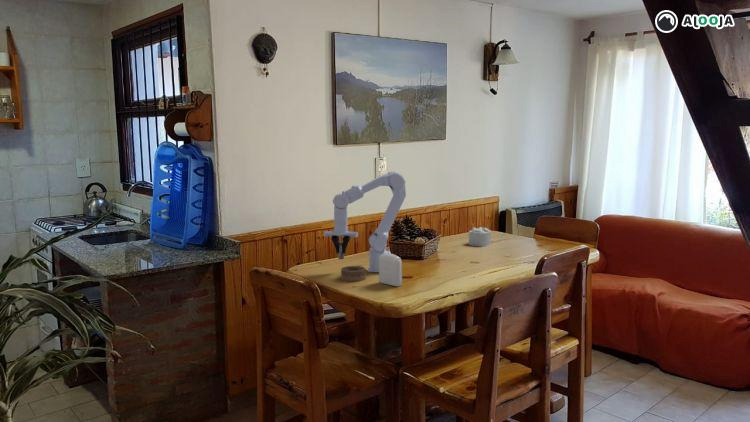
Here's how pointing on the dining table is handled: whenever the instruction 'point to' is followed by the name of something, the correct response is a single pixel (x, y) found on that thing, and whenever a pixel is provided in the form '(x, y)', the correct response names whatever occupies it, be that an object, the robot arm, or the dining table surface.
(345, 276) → the bead
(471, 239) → the lumpy-topped squat cylinder
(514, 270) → the dining table surface
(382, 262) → the white upright block
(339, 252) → the dark grey capsule
